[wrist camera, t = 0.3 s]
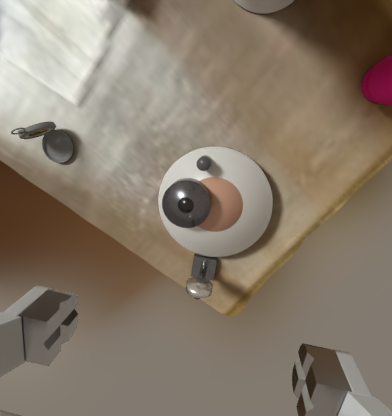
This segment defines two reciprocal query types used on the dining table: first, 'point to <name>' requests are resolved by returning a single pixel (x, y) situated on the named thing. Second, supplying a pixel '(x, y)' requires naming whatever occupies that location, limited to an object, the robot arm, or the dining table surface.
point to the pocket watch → (50, 140)
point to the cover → (187, 203)
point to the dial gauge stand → (201, 276)
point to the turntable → (222, 201)
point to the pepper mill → (379, 82)
